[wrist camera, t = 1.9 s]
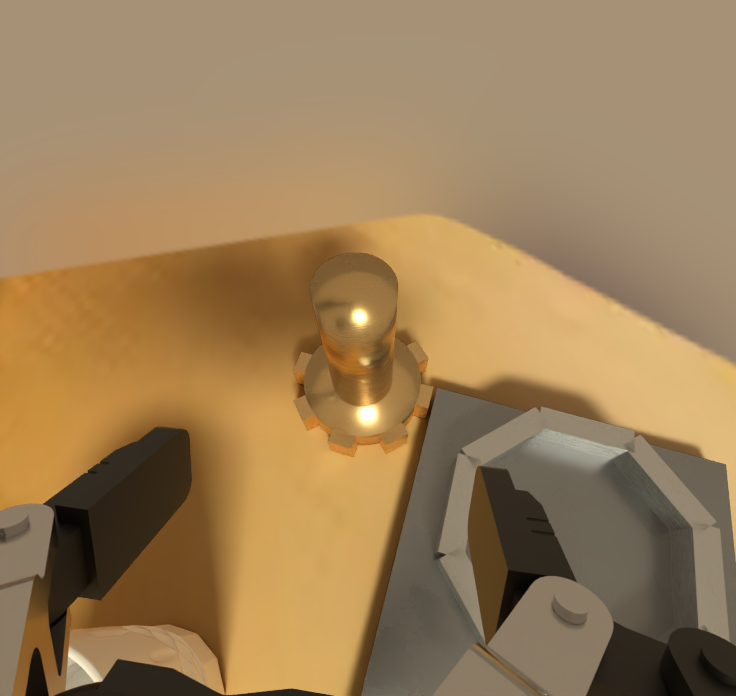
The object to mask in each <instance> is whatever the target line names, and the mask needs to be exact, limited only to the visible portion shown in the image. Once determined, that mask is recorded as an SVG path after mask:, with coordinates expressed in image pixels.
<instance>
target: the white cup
mask: <svg viewBox="0 0 736 696" xmlns="http://www.w3.org/2000/svg"><path fill="white" fill-rule="evenodd" d="M117 659H122V660H128V661H133V662H139V663H145V664H151V665H157V666H163V667H168V668H173V669H175V670H177V671H179V672H181V673H183V674H185V675H186V676H188V677H190V678H192V679H194V680H196V681H198V682H199V683H201V684H203V685H205V686H207V687H209V688H211V689H212V690H214V691H216V692H218V693H220V694H223V695H225V692H224V687H223V683H222V678H221V674H220V669H219V664H218V660H217V657H216V656H215V655H214V654H213V652H212V651H211V650H210V649H209V647H208V646H207V645H206V644H205V642H204V641H203V640H202V639H201V637H200V636H199V635H198V634H197V633H194V632H191V631H188V630H185V629H182V628H179V627H176V626H173V625H170V624H166V625H158V626H143V625H128V626H107V627H96V628H86V629H76V630H70V638H69V651H68V664H67V677H66V690H69V689H72V688H75V687H79V686H82V685H86V684H91V683H95V682H101V681H103V679H104V678H105V676H106V675H107V674H108V672H109V671H110V669H111V668H112V666H113V665H114V663H115V662H116V661H117ZM66 690H65V691H66Z"/></svg>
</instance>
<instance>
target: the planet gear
mask: <svg viewBox="0 0 736 696" xmlns="http://www.w3.org/2000/svg"><path fill="white" fill-rule="evenodd" d="M310 295H311V299H312V303H313V307H314V311H315V315H316V319H317V323H318V327H319V331H320V335H321V339H322V344H321V345H320V346H319V347H318V348H317V349H316V351H315V352H314V353H313V355H312V354H308V353H304V352H301V354H300V356H299V359H298V361H297V363H296V366H295V368H294V370H293V372H294V375H295V377H296V379H297V382H298V383H299V384H303V385H304V391H305V395H304V396H302V397H300V398H298V399H296V400H294V403H295V405H296V408H297V410H298V412H299V414H300V416H301V418H302V420H303V422H304V424H305V426H306V428H307V430H310V429H312V428H314V427H316V426H318V425H320V426H321V428H322V429H323V430H324V431H325V432H327V433H328V434H329V435H330V437H329V440H328V444H329V446H330V449H331V450H332V451H335V452H338V453H342V454H345V455H348V456H352V457H354V454H355V451H356V448H357V445H372V444H377V443H380V444H381V446H382V448H383V450H384V451H385V453H386V454H387V453H388V452H390V451H392V450H394V449H396V448H398V447H399V446H401V445H403V444H405V443H406V442H407V437H408V433H407V431H406V429H405V426H406V425H407V424H408V423H409V421H410V420H411V418H412V416H413V415H414V416H417V417H421V418H424V419H425V418H426V414H427V411H428V407H429V403H430V399H431V395H432V391H433V387H432V386H429V385H425V384H421V374H420V373H422V372H424V371H426V367H427V362H428V357H427V355H426V354H425V352H424V351H423V349H422V348H421V347H420V345H419V344H418V342H417V341H415V342H413V343H411V344H409V345H407V346H406V345H405V344H404V343H403V342H402V341H400V340H399V339H398V338H396V337H395V328H396V312H397V296H398V282H397V278H396V275H395V273H394V271H393V270H392V269H391V267H390V266H389V265H388V264H387V263H386V262H384V261H383V260H381V259H379V258H378V257H375V256H373V255H370V254H365V253H346V254H341V255H338V256H335V257H333V258H331V259H329V260H328V261H326V262H325V263H323V264H322V265H321V266H320V267H319V268H318V269H317V271H316V272H315V274H314V275H313V278H312V280H311V284H310Z"/></svg>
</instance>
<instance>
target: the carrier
mask: <svg viewBox="0 0 736 696" xmlns="http://www.w3.org/2000/svg"><path fill="white" fill-rule="evenodd" d="M478 466H487V467H495V468H504V469H507V470H508V471H509V474H510V476H511V479H512V482H513V484H514V487H515V490H523V491H528V492H529V493H530V494H531V495H532V496H533V497H534V498H535V499H536V500H537V501H538V502H539V503H540V504H541V505H542V506H543V508H544V510H545V513H546V515H547V517H548V519H549V523H550V524H551V526H552V528H553V530H554V532H555V536H556V537H557V539H558V541H559V543H560V545H561V548H562V550H563V552H564V554H565V556H566V559H567V561H568V563H569V565H570V567H571V570H572V572H573V574H574V576H575V578H576V581H577V583H579V584H580V585H582V586H584V587H585V588H587V589H589V590H590V591H591V592H592V593H594V594H595V595H596V596H597V597H598V598H599V599H600V600H601V601H602V602H603V603H604V605H605V606H606V607H607V609H608V610H609V612H610V614H611V617H612V620H613V621H614V622H616V623H618V624H620V625H622V626H624V627H626V628H628V629H630V630H633V631H635V632H638V633H640V634H643V635H645V636H648V637H650V638H653V639H655V640H658V641H660V642H663V643H665V644H667V643H668V640H669V637H670V635H671V633H672V632H673V631H675V630H676V629H679V628H687V627H689V628H697V629H701V630H704V631H707V632H710V633H713V634H715V635H717V636H719V637H721V638H723V639H725V640H727V641H729V642H730V643H732V644H733V645H735V646H736V562H735V552H734V542H733V532H732V521H731V511H730V501H729V491H728V481H727V470H726V464H722V463H718V462H715V461H711V460H707V459H703V458H700V457H696V456H692V455H688V454H685V453H681V452H677V451H673V450H670V449H666V448H662V447H658V446H654V445H651V444H648V443H647V441H646V440H645V439H644V438H643V437H642V436H641V435H639V436H637V437H635V431H633V430H629V429H626V428H622V427H618V426H614V425H610V424H607V423H603V422H599V421H595V420H591V419H587V418H584V417H580V416H576V415H572V414H568V413H565V412H561V411H557V410H553V409H549V408H546V407H542V406H541V407H540V408H539V409H537V408H536V407H535V408H533V409H531V410H529V411H523V410H519V409H515V408H512V407H508V406H504V405H500V404H497V403H493V402H489V401H485V400H481V399H478V398H474V397H470V396H466V395H463V394H459V393H455V392H451V391H448V390H444V389H440V388H437V390H436V394H435V397H434V402H433V406H432V410H431V414H430V418H429V422H428V426H427V430H426V434H425V438H424V442H423V446H422V450H421V454H420V458H419V462H418V466H417V470H416V474H415V478H414V482H413V486H412V490H411V495H410V499H409V503H408V507H407V511H406V515H405V519H404V523H403V527H402V531H401V535H400V539H399V543H398V547H397V551H396V555H395V559H394V563H393V567H392V571H391V575H390V579H389V583H388V588H387V592H386V596H385V600H384V604H383V608H382V612H381V616H380V620H379V624H378V628H377V632H376V636H375V640H374V644H373V648H372V652H371V656H370V660H369V664H368V668H367V672H366V676H365V681H364V685H363V689H362V693H361V696H433V694H434V693H435V692H436V690H437V689H438V688H439V687H440V685H441V684H442V683H443V681H444V680H445V679H446V677H447V676H448V675H449V674H450V672H451V671H452V670H453V668H454V667H455V666H456V664H457V663H458V662H459V661H460V659H461V658H462V657H463V655H464V654H465V653H466V652H467V650H468V649H469V648H470V647H471V646H472V645H473V644H475V643H480V644H481V645H482V646H483V647H486V644H485V638H484V632H483V626H482V620H481V614H480V608H479V602H478V596H477V590H476V584H475V578H474V572H473V566H472V560H471V554H470V549H469V543H468V515H469V509H470V503H471V497H472V491H473V485H474V478H475V473H476V469H477V467H478Z"/></svg>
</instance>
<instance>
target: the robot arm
mask: <svg viewBox="0 0 736 696" xmlns="http://www.w3.org/2000/svg"><path fill="white" fill-rule="evenodd" d="M191 481H192V475H191V457H190V440H189V434H188V432H187V431H186V430H184V429H176V428H168V427H156V428H154V429H153V430H152V431H150V432H149V433H148V434H147V435H145V436H144V437H143V438H141V439H140V440H139V441H137V442H133V443H131V444H129V445H127V446H124V447H122V448H120V449H117V450H115V451H114V452H113V453H111V454H110V455H108V456H107V457H106V458H104V459H103V460H102V461H100V464H96V465H95V466H94V467H92V468H91V469H90V470H88V473H84V474H83V475H81V476H80V477H79V478H77V479H76V480H75V481H73V482H72V483H71V484H69V485H68V486H67V487H65V488H64V489H63V490H61V491H60V492H59V493H57V494H56V495H55V496H53V497H52V498H50V499H49V500H48V501H46V502H45V503H44V504H24V505H18V506H14V507H10V508H7V509H4V510H1V511H0V696H332V695H326V694H320V693H315V692H309V691H303V690H297V689H284V690H274V691H265V692H256V693H247V694H238V695H223V694H220V693H218V692H216V691H214V690H212V689H211V688H209V687H207V686H205V685H203V684H201V683H199V682H198V681H196V680H194V679H192V678H190V677H188V676H186V675H185V674H183V673H181V672H179V671H177V670H175V669H173V668H168V667H163V666H157V665H151V664H145V663H139V662H133V661H128V660H122V659H117V661H116V662H115V663H114V665H113V666H112V668H111V669H110V671H109V672H108V674H107V675H106V676H105V678H104V679H103V681H101V682H95V683H91V684H86V685H82V686H79V687H75V688H72V689H69V690H66V677H67V664H68V651H69V638H70V626H71V611H70V605H71V604H72V603H73V602H74V601H75V600H76V598H77V597H83V598H89V599H96V600H101V599H102V598H103V597H104V596H105V595H106V593H107V592H108V591H109V590H110V589H111V587H112V586H113V585H114V584H115V583H116V582H117V580H118V579H119V578H120V577H121V576H122V574H123V573H124V572H125V571H126V570H127V569H128V567H129V566H130V565H131V564H132V563H133V561H134V560H135V559H136V558H137V557H138V556H139V554H140V553H141V552H142V551H143V550H144V548H145V547H146V546H147V545H148V544H149V543H150V541H151V540H152V539H153V538H154V537H155V535H156V534H157V533H158V532H159V531H160V530H161V528H162V527H163V526H164V525H165V524H166V522H167V521H168V520H169V519H170V518H171V516H172V515H173V514H174V513H175V512H176V511H177V509H178V508H179V507H180V506H181V505H182V503H183V502H184V501H185V499H186V498H187V496H188V493H189V491H190V487H191ZM468 543H469V549H470V554H471V560H472V566H473V572H474V578H475V584H476V590H477V596H478V602H479V608H480V614H481V620H482V626H483V632H484V638H485V644H486V647H483V646H482V645H481V644H480V643H475V644H473V645H472V646H471V647H470V648H469V649H468V650H467V652H466V653H465V654H464V655H463V657H462V658H461V659H460V661H459V662H458V663H457V664H456V666H455V667H454V668H453V670H452V671H451V672H450V674H449V675H448V676H447V677H446V679H445V680H444V681H443V683H442V684H441V685H440V687H439V688H438V689H437V690H436V692H435V693H434V694H433V696H736V646H735V645H733V644H732V643H730V642H729V641H727V640H725V639H723V638H721V637H719V636H717V635H715V634H713V633H710V632H707V631H704V630H701V629H697V628H689V627H687V628H679V629H676V630H675V631H673V632H672V633H671V635H670V637H669V640H668V643H667V644H665V643H663V642H660V641H658V640H655V639H653V638H650V637H648V636H645V635H643V634H640V633H638V632H635V631H633V630H630V629H628V628H626V627H624V626H622V625H620V624H618V623H616V622H614V621H613V620H612V617H611V614H610V612H609V610H608V609H607V607H606V606H605V605H604V603H603V602H602V601H601V600H600V599H599V598H598V597H597V596H596V595H595V594H594V593H592V592H591V591H590V590H589V589H587V588H585V587H584V586H582V585H580V584H579V583H577V581H576V578H575V576H574V574H573V572H572V570H571V567H570V565H569V563H568V561H567V559H566V556H565V554H564V552H563V550H562V548H561V545H560V543H559V541H558V539H557V537H556V536H555V532H554V530H553V528H552V526H551V524H550V523H549V519H548V517H547V515H546V513H545V510H544V508H543V506H542V505H541V504H540V503H539V502H538V501H537V500H536V499H535V498H534V497H533V496H532V495H531V494H530V493H529V492H528V491H523V490H515V487H514V484H513V482H512V479H511V476H510V474H509V471H508V470H507V469H504V468H495V467H487V466H478V467H477V469H476V473H475V478H474V485H473V491H472V497H471V503H470V509H469V515H468ZM65 690H66V691H65Z"/></svg>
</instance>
